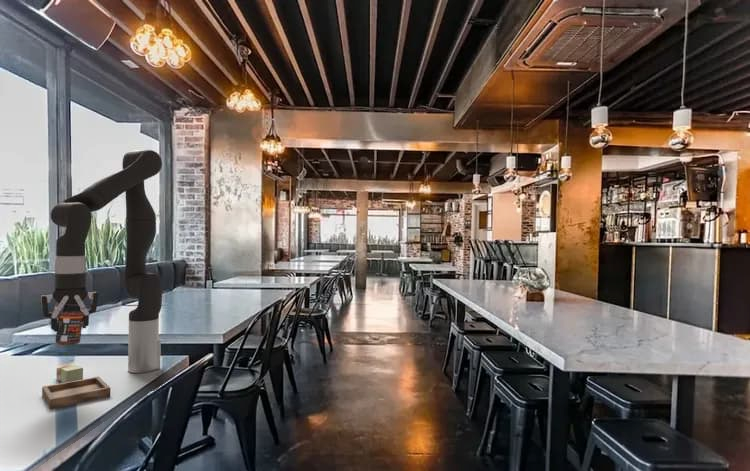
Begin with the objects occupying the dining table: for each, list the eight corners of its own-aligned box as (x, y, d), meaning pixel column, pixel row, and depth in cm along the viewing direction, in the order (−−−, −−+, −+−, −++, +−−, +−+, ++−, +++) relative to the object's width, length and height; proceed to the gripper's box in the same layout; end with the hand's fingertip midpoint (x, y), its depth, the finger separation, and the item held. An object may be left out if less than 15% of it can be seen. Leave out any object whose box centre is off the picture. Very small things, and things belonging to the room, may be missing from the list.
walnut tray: (98, 384, 137) (98, 376, 137) (110, 396, 127) (110, 387, 127) (42, 395, 127) (42, 386, 127) (49, 409, 117) (50, 399, 117)
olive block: (83, 367, 139) (82, 382, 139) (77, 365, 142) (77, 379, 142) (66, 371, 136) (66, 385, 136) (61, 368, 139) (61, 382, 139)
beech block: (75, 375, 147) (75, 362, 147) (75, 378, 143) (75, 365, 143) (57, 377, 144) (57, 365, 144) (56, 380, 141) (56, 368, 141)
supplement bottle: (67, 346, 125) (71, 305, 125) (49, 344, 126) (54, 303, 127) (85, 343, 130) (89, 304, 131) (68, 340, 132) (72, 302, 132)
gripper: (96, 269, 136) (96, 324, 136) (38, 272, 127) (37, 330, 127) (102, 271, 131) (101, 328, 131) (41, 273, 121) (40, 335, 121)
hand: (69, 329), depth 129 cm, fingers closed on supplement bottle, 6 cm apart
